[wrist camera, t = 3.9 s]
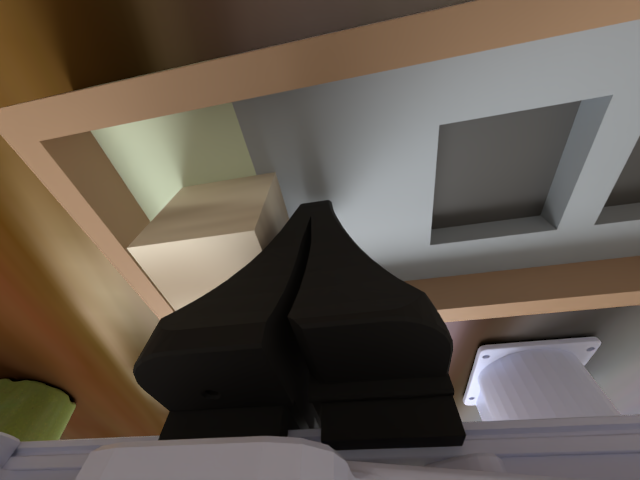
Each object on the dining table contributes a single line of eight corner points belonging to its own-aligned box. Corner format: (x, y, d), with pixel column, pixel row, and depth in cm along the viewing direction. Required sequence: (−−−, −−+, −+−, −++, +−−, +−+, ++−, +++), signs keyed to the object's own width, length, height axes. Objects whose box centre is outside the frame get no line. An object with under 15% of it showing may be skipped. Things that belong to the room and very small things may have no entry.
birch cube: (297, 249, 13) (288, 318, 10) (220, 258, 14) (188, 327, 11) (275, 172, 11) (254, 230, 8) (182, 187, 11) (126, 248, 8)
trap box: (683, 242, 14) (768, 293, 12) (204, 296, 18) (181, 345, 15) (959, -110, 7) (1350, -196, 4) (72, 91, 11) (-19, 112, 8)
